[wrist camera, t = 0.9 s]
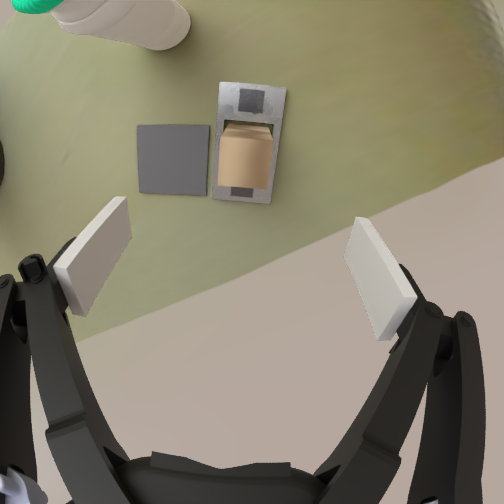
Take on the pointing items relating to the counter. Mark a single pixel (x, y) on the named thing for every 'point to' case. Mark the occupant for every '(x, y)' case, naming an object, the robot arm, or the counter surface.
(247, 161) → the peg
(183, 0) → the counter surface
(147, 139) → the mat
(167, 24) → the white bottle
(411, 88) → the counter surface
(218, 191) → the plate with rectangular hole
